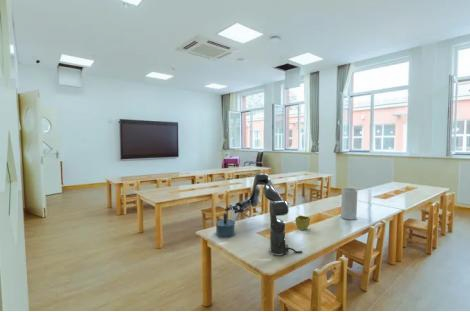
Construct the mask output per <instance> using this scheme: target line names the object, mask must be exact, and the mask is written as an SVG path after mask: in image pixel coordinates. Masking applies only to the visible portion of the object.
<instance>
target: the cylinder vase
mask: <svg viewBox="0 0 470 312" xmlns="http://www.w3.org/2000/svg"><path fill="white" fill-rule="evenodd" d="M340 201H341V202H340V217H341V219H345V220H349V221H351V220H356V219H357V214H358V213H357V212H358V189H357V188H351V187H343V188H341V199H340Z"/></svg>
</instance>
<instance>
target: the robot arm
mask: <svg viewBox="0 0 470 312" xmlns="http://www.w3.org/2000/svg"><path fill="white" fill-rule="evenodd" d="M259 186H263V188H262V193H263V195H264V197H265V199H266V200H268V201H269V226H270V227H269V253H270V254H272V255H273V256H275V257H276V256H278V257H281V256H285V255H286V253H289V250H291V251H293V252H294V253H296V254H300V253H303V251H302V250H295V248H292V247H289V244H286V221H284V220H283V219H280V218H277V217H282V216H287V215H288V214H289V204H288V203H287V201H286V200H285V199H284V198H283V197H282V196H281V194H280V193H279V191H278V190H277V188H276V187H275V185H274V184H273V181H272V180H271V178H270V175H269V174H268V173H263V172H258V173H255V174H254V177H253V184H252V189H251V192H250V195H248V196H247V197H246V199H243V200H240V201H237V202H236V203H235V204H234V205H232V204H230V205H227V206H226V208H224V209H225V210H224V211H225V212H229V211H231V212H232V211H233V212H234V214H238V213H244V212H245V211H246V210H247V209H249V208H250V207H252V208H256V207H257V206H258V205H259V200H260V199H259V198H260V194H261V190H260V187H259Z"/></svg>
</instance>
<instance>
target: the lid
mask: <svg viewBox="0 0 470 312" xmlns="http://www.w3.org/2000/svg"><path fill="white" fill-rule="evenodd" d="M234 224H235V225H236V221H235V220H233V219H228V213H227V212H223V218H222V219H219V220H217V221H216V222H215V226H216V225H217V226H220V227H230V226H233V225H234Z"/></svg>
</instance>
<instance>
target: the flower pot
mask: <svg viewBox="0 0 470 312" xmlns="http://www.w3.org/2000/svg"><path fill="white" fill-rule="evenodd" d="M310 223H311V217H310V216H305V215H298V216H296V217H295V225H296V227H297V228H298V230H302V231H306V230H307V229H308V228H309V226H310Z"/></svg>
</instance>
